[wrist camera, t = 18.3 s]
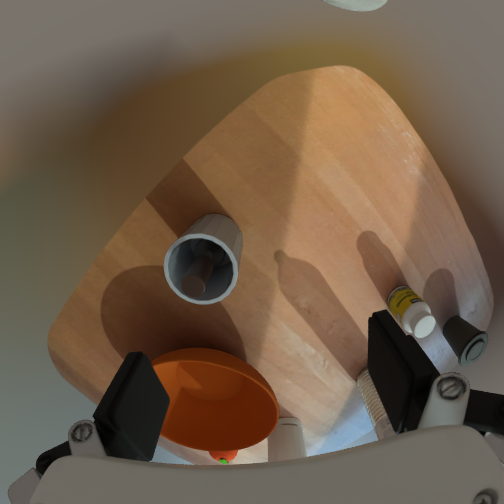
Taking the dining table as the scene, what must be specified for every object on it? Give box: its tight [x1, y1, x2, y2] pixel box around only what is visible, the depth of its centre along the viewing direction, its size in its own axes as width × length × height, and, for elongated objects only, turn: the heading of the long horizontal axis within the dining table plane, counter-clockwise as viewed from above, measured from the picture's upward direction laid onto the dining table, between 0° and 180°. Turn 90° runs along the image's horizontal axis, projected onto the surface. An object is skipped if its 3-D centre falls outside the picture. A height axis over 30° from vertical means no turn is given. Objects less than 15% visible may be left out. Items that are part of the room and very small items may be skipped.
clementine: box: [209, 450, 238, 464], centre depth 53 cm, size 8×7×7 cm
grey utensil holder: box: [164, 214, 243, 304], centre depth 36 cm, size 8×8×12 cm
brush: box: [181, 238, 226, 297], centre depth 34 cm, size 4×4×15 cm
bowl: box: [151, 348, 279, 452], centre depth 45 cm, size 25×25×10 cm
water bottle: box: [357, 367, 399, 440], centre depth 38 cm, size 7×7×25 cm
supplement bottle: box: [387, 286, 435, 338], centre depth 39 cm, size 5×5×10 cm
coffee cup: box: [443, 316, 488, 366], centre depth 41 cm, size 8×8×10 cm
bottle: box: [268, 417, 307, 462], centre depth 41 cm, size 8×8×28 cm
